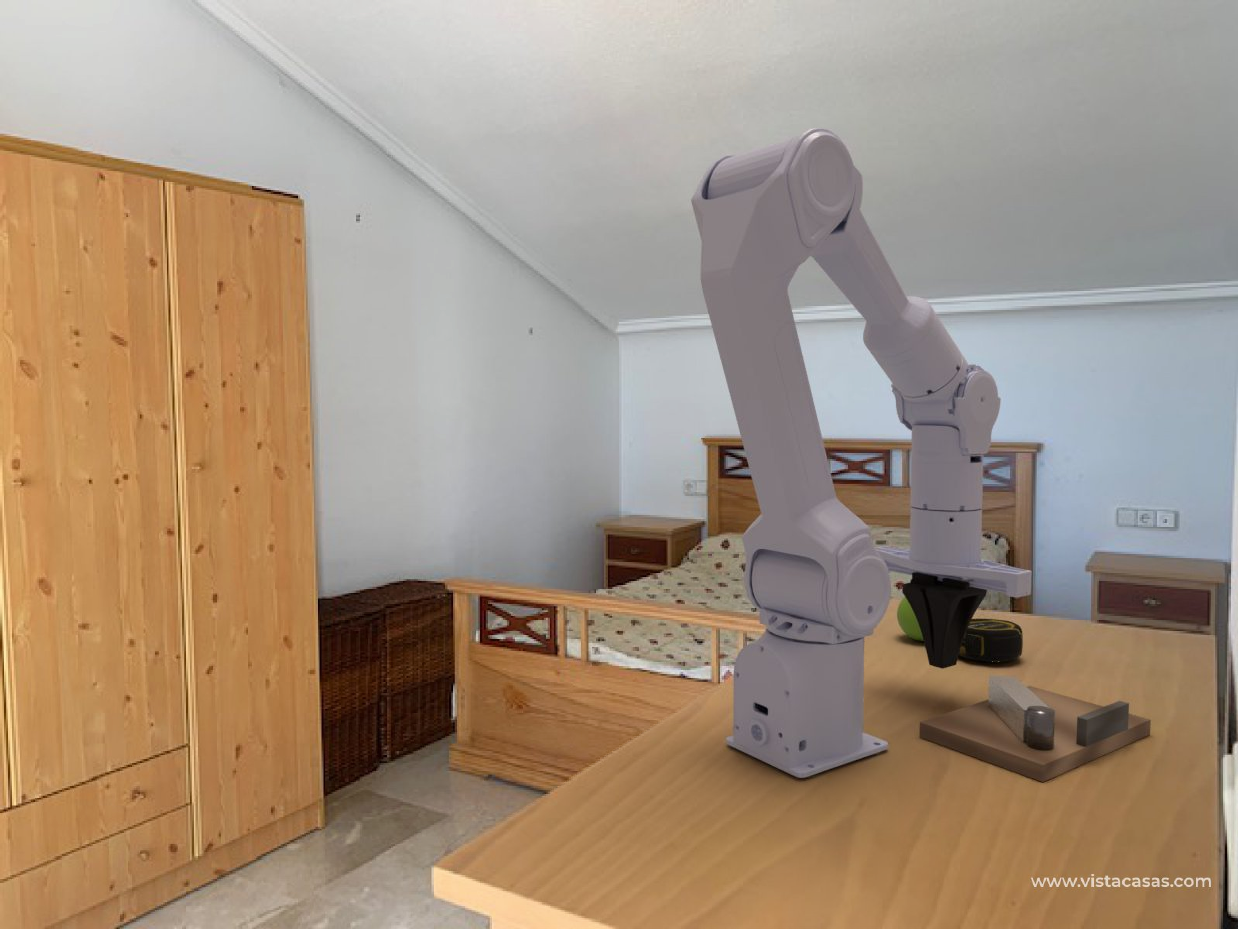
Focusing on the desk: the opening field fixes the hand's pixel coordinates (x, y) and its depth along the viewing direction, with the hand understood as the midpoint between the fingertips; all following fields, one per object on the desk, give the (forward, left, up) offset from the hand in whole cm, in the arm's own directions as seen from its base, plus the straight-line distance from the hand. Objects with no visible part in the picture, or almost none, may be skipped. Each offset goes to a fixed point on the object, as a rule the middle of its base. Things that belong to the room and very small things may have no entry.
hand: (942, 665), depth 77 cm
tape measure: (+15, +6, -4) cm, 17 cm away
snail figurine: (+16, +14, -4) cm, 21 cm away
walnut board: (-1, -9, -3) cm, 9 cm away
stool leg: (-3, -9, -2) cm, 10 cm away
